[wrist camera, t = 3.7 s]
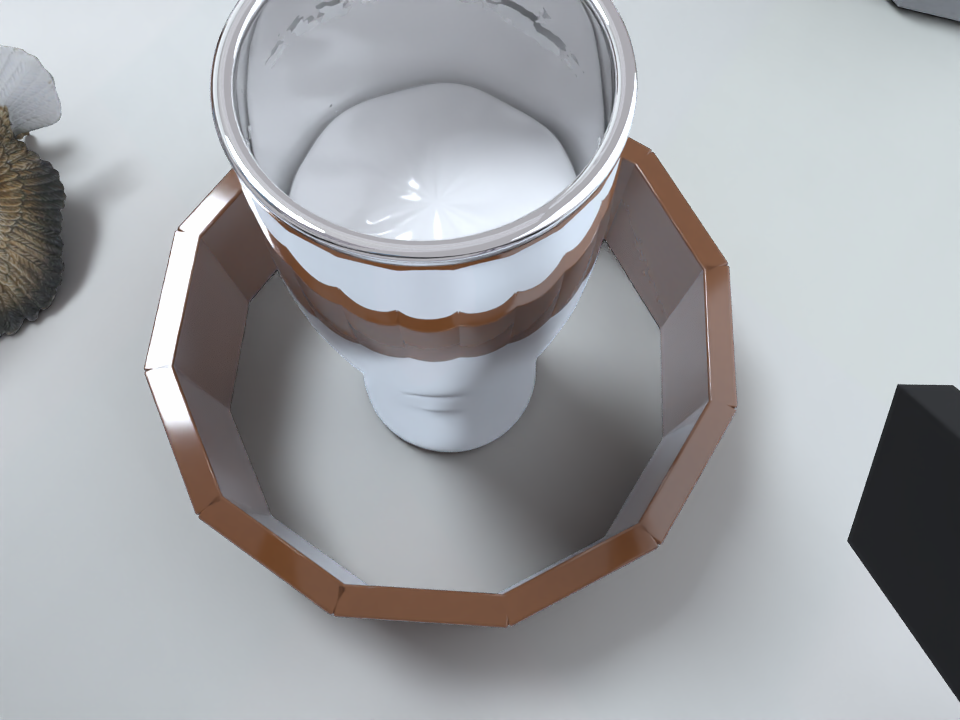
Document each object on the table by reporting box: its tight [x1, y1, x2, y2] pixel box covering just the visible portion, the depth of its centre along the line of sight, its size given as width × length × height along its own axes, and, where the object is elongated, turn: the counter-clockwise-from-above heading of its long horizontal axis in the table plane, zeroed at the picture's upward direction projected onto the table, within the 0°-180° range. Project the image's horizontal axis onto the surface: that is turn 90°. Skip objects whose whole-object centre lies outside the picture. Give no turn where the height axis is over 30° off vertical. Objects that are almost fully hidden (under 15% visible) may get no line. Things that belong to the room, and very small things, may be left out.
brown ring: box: [144, 137, 737, 628], centre depth 23 cm, size 17×17×5 cm
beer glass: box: [210, 0, 637, 452], centre depth 18 cm, size 7×7×15 cm
